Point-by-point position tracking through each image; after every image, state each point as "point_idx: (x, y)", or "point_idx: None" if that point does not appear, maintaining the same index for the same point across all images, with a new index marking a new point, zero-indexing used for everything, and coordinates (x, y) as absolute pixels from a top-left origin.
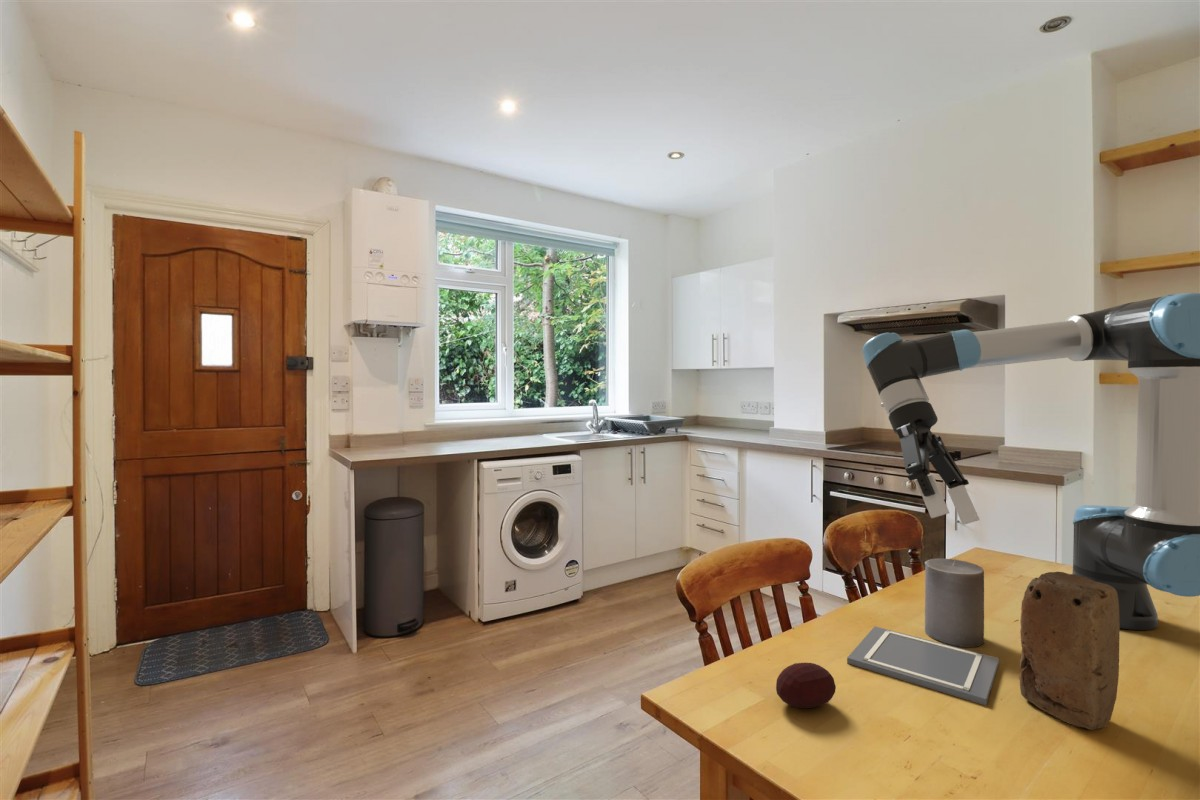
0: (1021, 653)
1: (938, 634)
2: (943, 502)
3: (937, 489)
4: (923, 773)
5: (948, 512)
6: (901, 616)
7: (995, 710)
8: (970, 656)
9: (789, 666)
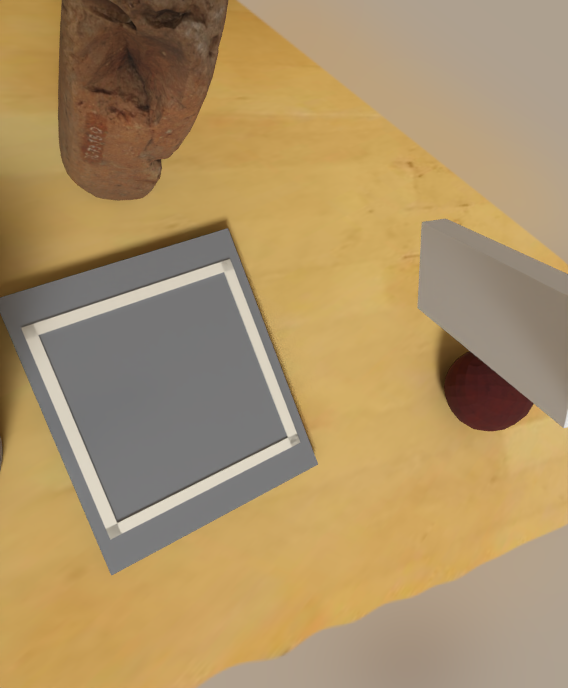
0: (148, 170)
1: (1, 457)
2: (477, 234)
3: (532, 262)
4: (452, 204)
5: (435, 220)
6: None
7: (224, 215)
8: (57, 340)
9: (524, 410)
